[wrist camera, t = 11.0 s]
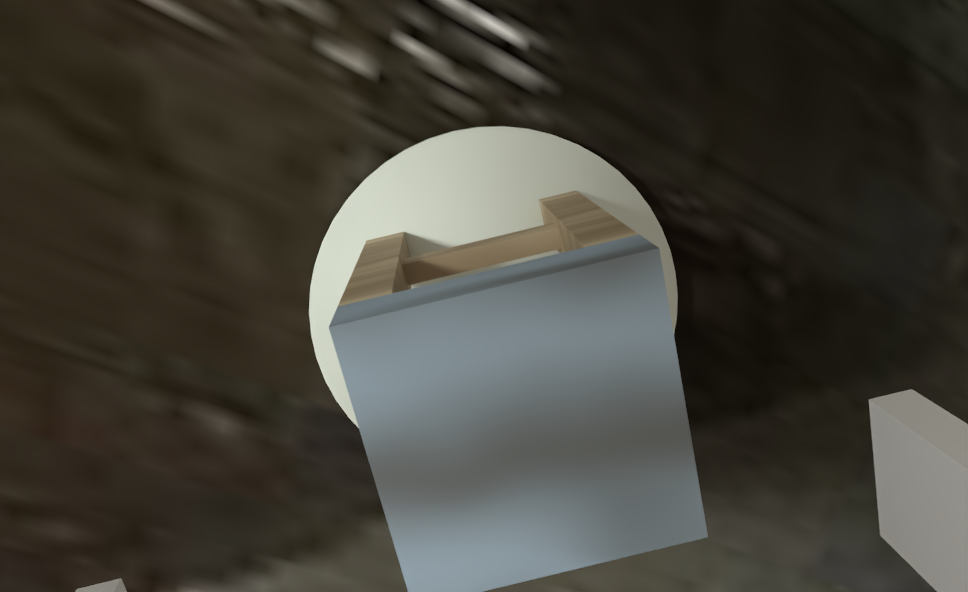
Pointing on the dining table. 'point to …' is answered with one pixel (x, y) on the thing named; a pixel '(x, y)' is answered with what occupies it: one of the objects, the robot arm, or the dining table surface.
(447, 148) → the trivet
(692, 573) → the dining table surface
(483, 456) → the stool
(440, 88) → the dining table surface
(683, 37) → the dining table surface
